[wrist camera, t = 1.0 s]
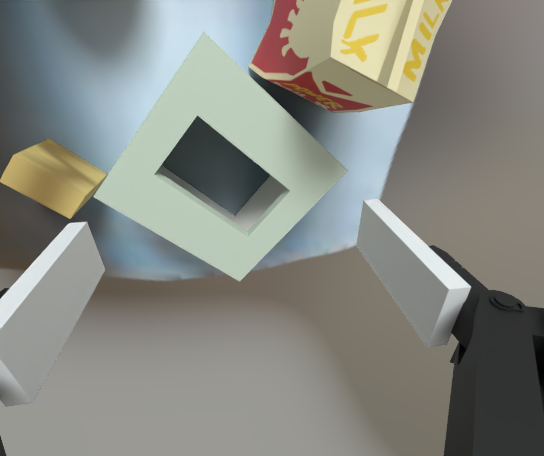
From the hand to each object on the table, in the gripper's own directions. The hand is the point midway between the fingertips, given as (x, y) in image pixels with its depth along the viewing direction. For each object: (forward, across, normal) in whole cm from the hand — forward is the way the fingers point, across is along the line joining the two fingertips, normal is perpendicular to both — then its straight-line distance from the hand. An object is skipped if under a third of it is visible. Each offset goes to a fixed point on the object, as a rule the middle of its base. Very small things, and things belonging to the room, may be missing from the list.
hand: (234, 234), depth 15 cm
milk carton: (+21, +8, +8) cm, 24 cm away
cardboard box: (+21, -17, -2) cm, 27 cm away
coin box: (+20, 0, -1) cm, 21 cm away
